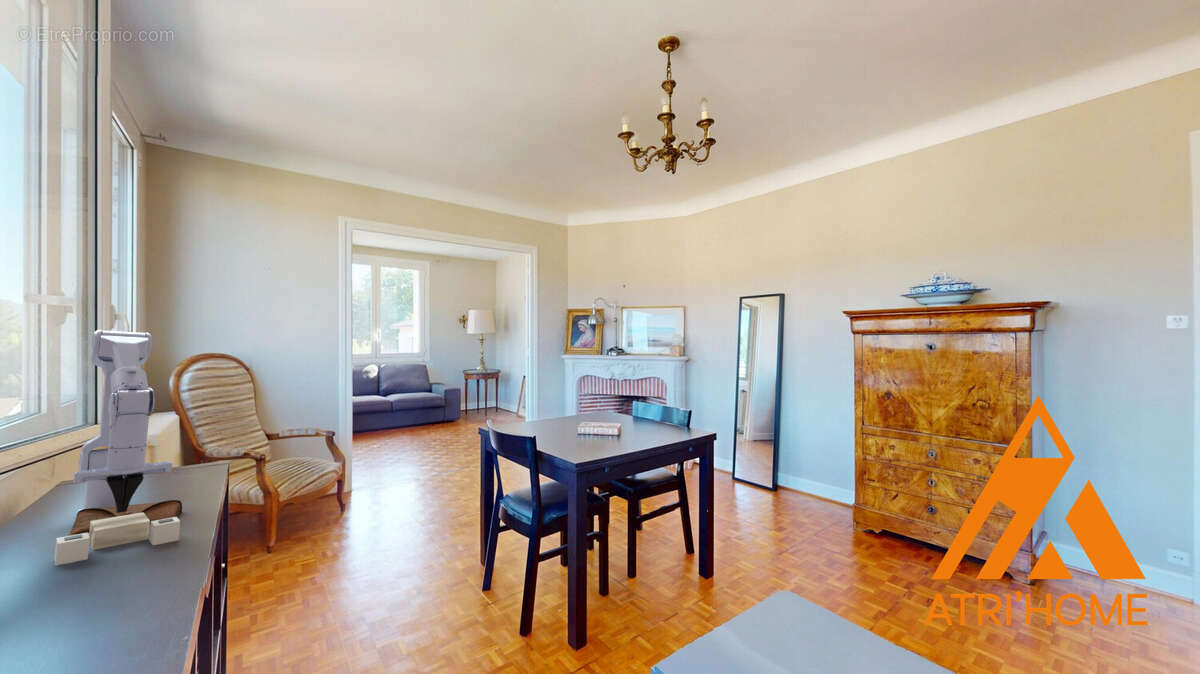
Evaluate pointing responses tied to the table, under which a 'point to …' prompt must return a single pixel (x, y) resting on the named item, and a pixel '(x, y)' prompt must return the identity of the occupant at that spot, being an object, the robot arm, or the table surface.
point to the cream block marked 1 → (71, 548)
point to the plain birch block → (118, 530)
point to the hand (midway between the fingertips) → (121, 511)
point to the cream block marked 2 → (164, 530)
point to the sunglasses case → (150, 510)
